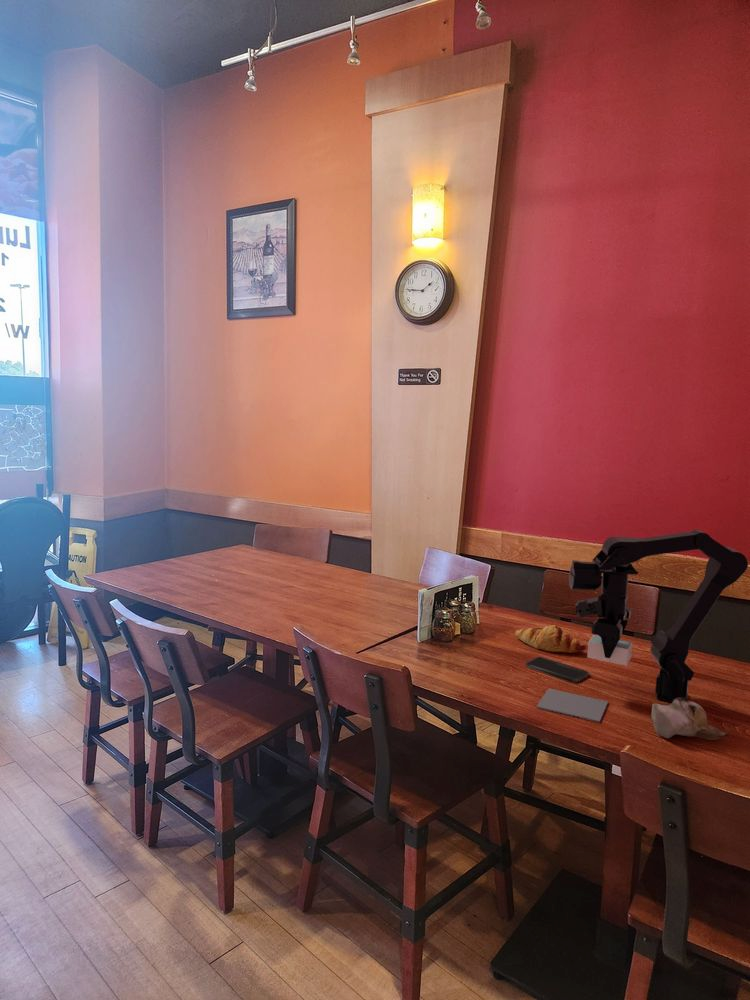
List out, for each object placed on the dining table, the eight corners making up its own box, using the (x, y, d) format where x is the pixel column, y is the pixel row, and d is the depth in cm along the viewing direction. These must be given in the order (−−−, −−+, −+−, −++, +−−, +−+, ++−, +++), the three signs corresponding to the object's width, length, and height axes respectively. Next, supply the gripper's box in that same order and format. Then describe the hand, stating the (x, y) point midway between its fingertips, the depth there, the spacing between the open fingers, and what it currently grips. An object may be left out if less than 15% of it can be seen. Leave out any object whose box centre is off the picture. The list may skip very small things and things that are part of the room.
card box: (631, 658, 158) (632, 642, 157) (626, 665, 153) (627, 649, 152) (592, 650, 162) (593, 634, 162) (587, 657, 158) (588, 641, 157)
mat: (607, 703, 154) (608, 701, 154) (599, 722, 144) (599, 720, 144) (548, 689, 161) (548, 688, 161) (536, 707, 151) (536, 706, 151)
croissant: (510, 652, 194) (506, 633, 190) (523, 628, 201) (518, 609, 197) (581, 668, 182) (578, 648, 178) (592, 642, 188) (589, 622, 184)
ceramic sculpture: (641, 685, 143) (704, 687, 145) (635, 722, 144) (698, 723, 146) (668, 708, 133) (736, 709, 135) (662, 748, 134) (729, 748, 136)
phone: (575, 681, 164) (524, 663, 175) (575, 685, 164) (523, 667, 175) (590, 672, 170) (539, 655, 180) (590, 676, 170) (539, 659, 180)
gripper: (586, 577, 167) (583, 635, 169) (571, 595, 151) (566, 659, 153) (633, 583, 162) (628, 643, 164) (622, 603, 145) (617, 669, 148)
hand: (609, 653), depth 157 cm, fingers closed on card box, 6 cm apart
